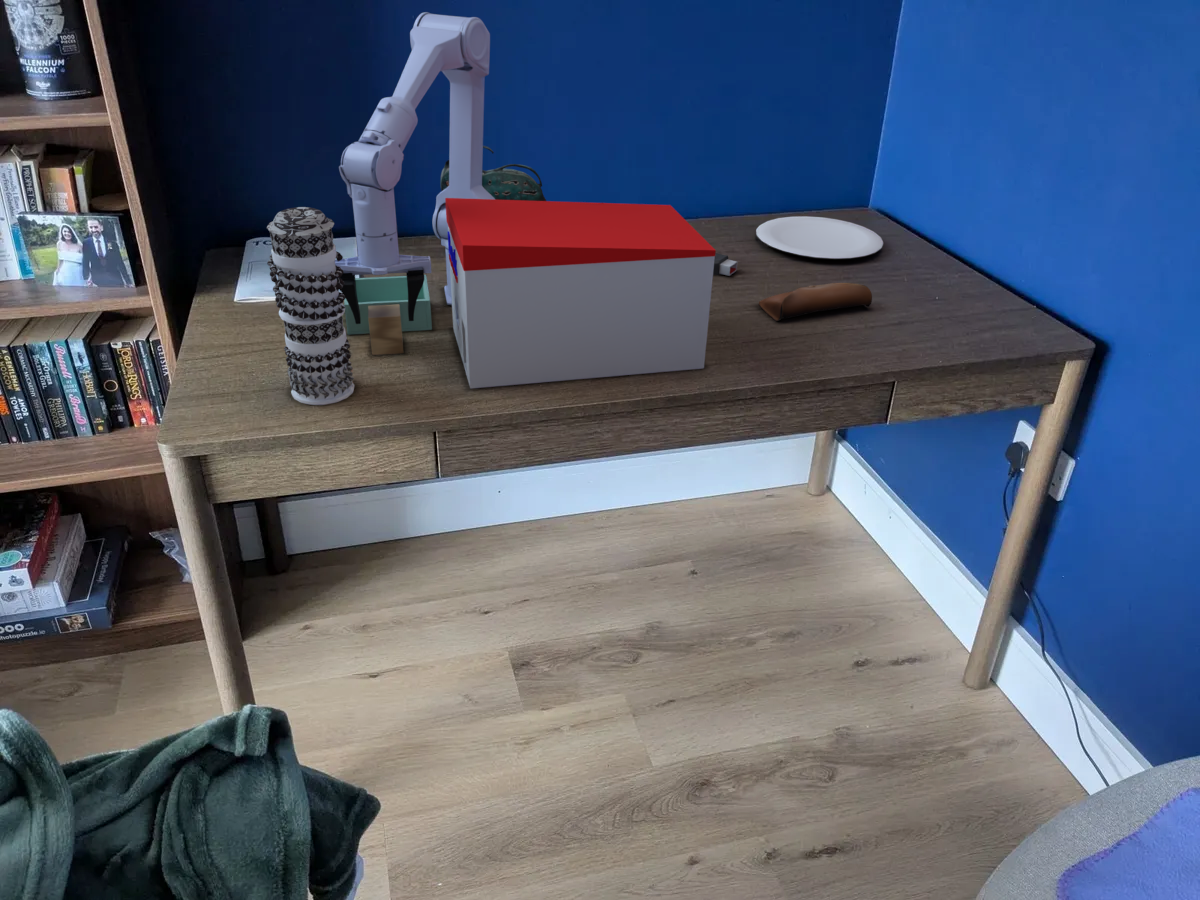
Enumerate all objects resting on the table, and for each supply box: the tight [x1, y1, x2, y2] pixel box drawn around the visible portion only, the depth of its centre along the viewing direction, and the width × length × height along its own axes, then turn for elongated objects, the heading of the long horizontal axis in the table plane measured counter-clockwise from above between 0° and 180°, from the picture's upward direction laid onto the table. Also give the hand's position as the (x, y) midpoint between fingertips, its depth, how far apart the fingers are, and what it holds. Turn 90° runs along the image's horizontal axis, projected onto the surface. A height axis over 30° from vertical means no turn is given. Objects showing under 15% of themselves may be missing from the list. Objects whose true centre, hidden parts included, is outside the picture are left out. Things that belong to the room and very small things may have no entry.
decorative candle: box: [266, 206, 355, 406], centre depth 125 cm, size 9×9×25 cm
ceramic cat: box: [439, 145, 547, 201], centre depth 176 cm, size 20×6×20 cm, turn 104°
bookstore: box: [445, 198, 717, 390], centre depth 140 cm, size 21×35×21 cm, turn 104°
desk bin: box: [343, 274, 433, 336], centre depth 152 cm, size 13×11×5 cm
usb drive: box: [713, 252, 738, 277], centre depth 176 cm, size 5×12×3 cm, turn 58°
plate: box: [755, 215, 884, 261], centre depth 190 cm, size 25×25×2 cm
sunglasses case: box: [758, 282, 873, 322], centre depth 161 cm, size 18×7×7 cm, turn 113°
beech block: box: [368, 304, 405, 356], centre depth 143 cm, size 5×5×6 cm
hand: (384, 319), depth 142 cm, fingers open, 7 cm apart
